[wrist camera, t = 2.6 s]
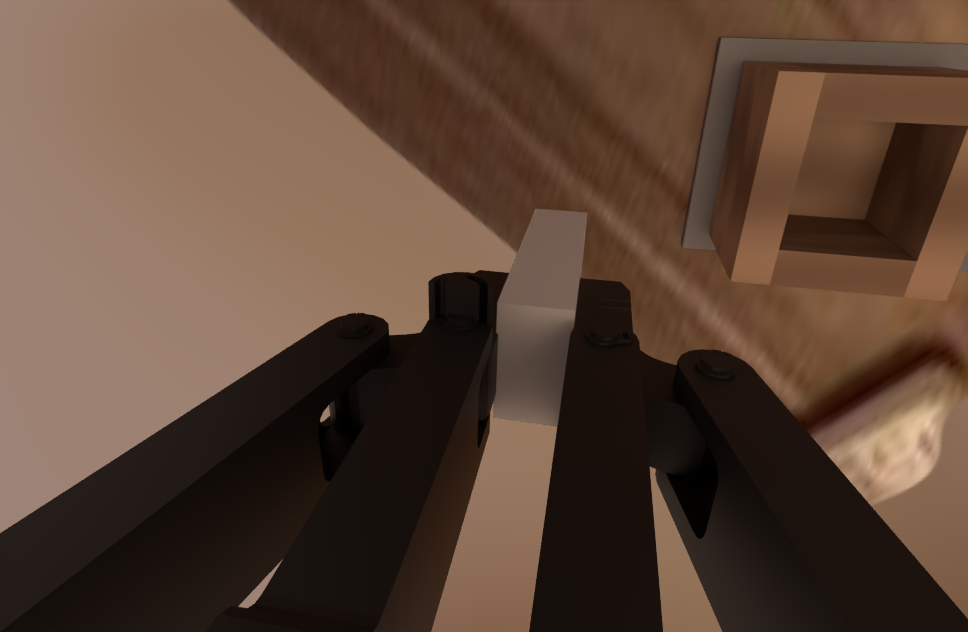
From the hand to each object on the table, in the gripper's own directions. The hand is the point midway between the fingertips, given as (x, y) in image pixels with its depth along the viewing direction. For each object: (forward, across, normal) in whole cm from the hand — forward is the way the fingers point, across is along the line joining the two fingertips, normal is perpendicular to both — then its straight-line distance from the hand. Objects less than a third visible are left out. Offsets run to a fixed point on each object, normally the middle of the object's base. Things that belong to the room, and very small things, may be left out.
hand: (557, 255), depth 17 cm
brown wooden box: (+17, +12, 0) cm, 21 cm away
